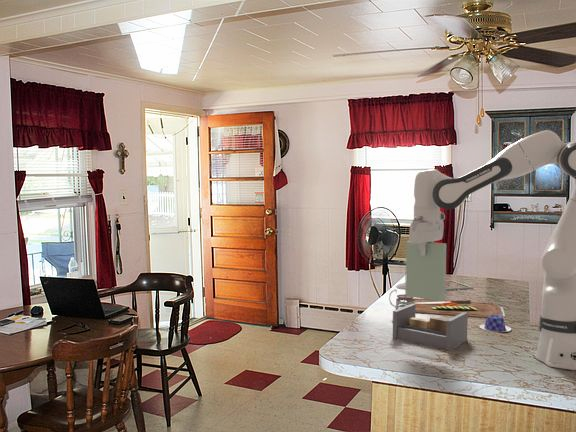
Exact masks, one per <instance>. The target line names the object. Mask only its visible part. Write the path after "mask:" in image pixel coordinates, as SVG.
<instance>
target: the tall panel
mask: <svg viewBox="0 0 576 432" xmlns="http://www.w3.org/2000/svg"><path fill="white" fill-rule="evenodd" d="M425 248H426V250H427V255H425V256H422V255H421V254H420V248H419V244H418V245H417V244H410V242H409V240H406V251H405V252H406V253H405V254H406V257H405V259H406V260H405V261H406V296H409V297H414V298H419V299H429V300H436V301H442V302H443V301H445V300H446V292H447V291H446V281H447V243H445V242H444V243H443V242H434V243H433V242H428V243H426V246H425Z"/></svg>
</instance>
